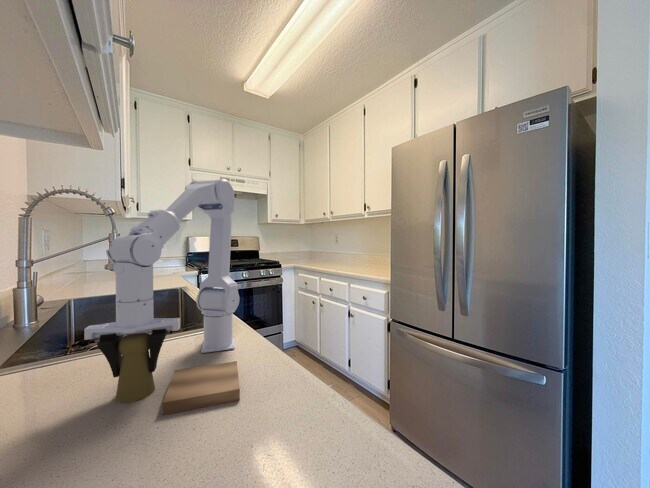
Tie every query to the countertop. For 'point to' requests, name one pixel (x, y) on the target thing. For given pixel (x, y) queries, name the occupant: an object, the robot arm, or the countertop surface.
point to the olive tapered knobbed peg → (134, 369)
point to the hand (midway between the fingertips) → (135, 372)
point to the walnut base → (202, 387)
